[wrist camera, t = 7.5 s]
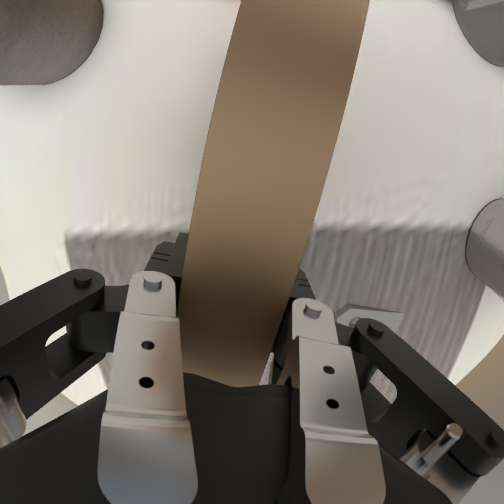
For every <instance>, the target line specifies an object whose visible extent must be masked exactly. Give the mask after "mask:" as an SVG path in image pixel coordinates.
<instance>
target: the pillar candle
mask: <svg viewBox="0 0 504 504" xmlns="http://www.w3.org/2000/svg"><path fill="white" fill-rule="evenodd" d="M102 20H103V10H102V5H101V1H100V0H0V85H45V84H50V83H53V82H56V81H58V80H60V79H62V78H64V77H66V76H67V75H69V74H70V73H72V72H73V71H74V70H76V69H77V68H78V67H79V66H80V65H81V64H82V63H83V62H84V61H85V60H86V58H87V57H88V56H89V55H90V53H91V52H92V49H93V48H94V46H95V44H96V43H97V41H98V38H99V35H100V32H101V28H102Z"/></svg>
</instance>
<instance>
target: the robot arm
mask: <svg viewBox="0 0 504 504" xmlns="http://www.w3.org/2000/svg"><path fill="white" fill-rule="evenodd" d="M188 237H189V234H187V233H182V232H180V233H179V236H178V238H177V240H176V243H170V242H163V243H161V244H159V245H157V246H156V248H155V250H154V252H153V254H152V256H151V258H150V260H149V262H148V264H147V266H146V268H145V270H144V271H143V272H139V273H136V274H134V275H133V276H132V277H131V280H130V284H129V285H125V286H105V279H104V277H103V276H102V275H101V274H100V273H98V272H96V271H94V270H90V269H76V270H72V271H69V272H67V273H65V274H63V275H60V276H58V277H56V278H54V279H52V280H50V281H48V282H46V283H44V284H42V285H40V286H38V287H36V288H34V289H32V290H30V291H28V292H26V293H24V294H22V295H20V296H18V297H16V298H14V299H12V300H10V301H8V302H7V303H5V304H3V305H1V306H0V504H458V503H459V502H460V501H461V500H462V499H463V497H464V496H465V495H466V494H467V492H468V491H469V490H470V489H471V488H472V486H473V485H475V484H476V483H477V482H478V481H479V480H481V479H482V478H483V477H484V476H485V475H486V474H488V473H489V472H490V471H491V470H492V469H493V468H494V467H495V466H497V465H498V464H499V463H500V462H501V461H502V460H503V459H504V430H503V429H502V428H501V427H499V425H497V424H496V423H495V422H494V421H493V420H492V419H491V418H490V417H489V416H488V415H487V414H485V412H483V411H482V410H481V409H480V408H479V407H478V406H477V405H476V404H475V403H473V401H471V400H470V399H469V398H468V397H467V396H466V395H465V394H464V393H462V392H461V391H460V390H459V389H458V388H457V387H456V386H455V385H454V384H453V383H451V382H450V381H449V380H448V379H447V378H446V377H445V376H444V375H442V374H441V373H440V372H439V371H438V370H437V369H436V368H435V367H433V366H432V365H431V364H430V363H429V362H428V361H427V360H425V359H424V358H423V357H422V356H421V355H420V354H419V353H418V352H416V351H415V350H414V349H413V348H412V347H411V346H409V345H408V344H407V343H406V342H405V341H404V340H403V339H401V338H400V337H399V336H398V335H397V334H396V333H394V332H393V331H392V330H391V329H390V328H389V327H387V326H386V325H385V324H383V323H381V322H380V321H377V320H374V319H371V318H361V319H359V320H358V321H357V323H356V325H355V327H354V328H352V327H349V326H346V325H343V324H340V323H337V322H335V321H334V316H333V313H332V311H331V310H330V308H329V307H328V306H326V305H325V304H323V303H321V302H319V301H317V300H316V299H315V296H314V294H313V291H312V289H311V287H310V284H309V282H308V279H307V277H306V274H305V273H304V272H303V271H302V270H301V269H300V268H299V269H298V272H297V275H296V279H295V282H294V285H293V288H292V291H291V294H290V297H289V300H288V303H287V306H286V309H285V312H284V315H283V318H282V321H281V324H280V326H279V329H278V332H277V335H276V338H275V341H274V344H273V347H272V349H271V352H273V353H274V357H273V359H272V362H271V365H270V373H269V383H268V385H258V386H247V387H232V386H229V385H226V384H222V383H219V382H216V381H214V380H211V379H208V378H205V377H202V376H199V375H196V374H192V373H186V372H183V369H182V355H181V340H180V323H179V317H177V312H178V304H179V297H180V289H181V282H182V275H183V269H184V262H185V256H186V249H187V243H188ZM466 258H467V263H468V266H469V268H470V270H471V271H472V272H473V274H474V275H476V276H477V277H478V278H479V279H480V280H481V281H482V282H484V283H485V284H486V285H487V286H488V287H489V288H490V289H491V290H492V291H493V292H494V293H496V294H497V295H498V296H499V297H500V298H501V299H502V300H503V301H504V199H499V200H495V201H493V202H491V203H490V204H489V205H487V206H486V207H485V208H484V209H483V210H482V211H481V212H480V214H479V215H478V217H477V218H476V220H475V221H474V224H473V226H472V228H471V230H470V234H469V237H468V241H467V247H466ZM64 326H66V331H67V333H66V334H64V335H63V336H61V337H60V338H58V339H57V340H55V341H54V342H52V343H51V344H49V345H48V346H46V347H45V345H46V342H47V340H48V338H49V337H50V336H51V335H52V334H53V333H54V332H56V331H58V330H59V329H61V328H62V327H64ZM107 352H113V358H112V365H111V371H110V378H109V386H108V389H107V390H106V391H104V392H102V393H100V394H99V395H97V396H95V397H93V398H92V399H90V400H88V401H86V402H85V403H83V404H81V405H79V406H77V407H76V408H74V409H72V410H70V411H69V412H67V413H65V414H63V415H61V416H59V417H58V418H56V419H54V420H52V421H50V422H48V423H47V424H45V425H43V426H41V427H39V428H37V429H35V430H34V431H32V432H30V433H28V434H26V435H24V436H22V435H23V433H24V432H25V429H26V419H28V418H29V417H30V416H31V415H33V414H34V413H35V412H37V411H38V410H39V409H40V408H42V407H43V406H44V405H45V404H47V403H48V402H49V401H50V400H52V399H53V398H54V397H55V396H57V395H58V394H59V393H60V392H62V391H63V390H64V389H66V388H67V387H68V386H69V385H71V384H72V383H73V382H74V381H76V380H77V379H78V378H79V377H81V376H82V375H83V374H84V373H86V372H87V371H88V370H90V369H91V368H92V367H93V366H95V365H96V364H97V363H98V362H100V361H101V360H102V359H103V358H104V357H105V356H106V353H107ZM377 368H378V369H379V370H380V371H381V372H382V373H383V374H384V375H385V376H386V377H387V378H388V379H389V380H390V381H391V382H392V383H393V384H394V385H395V386H396V389H397V397H396V399H395V401H394V402H393V403H392V404H391V403H390V402H389V401H388V400H387V399H386V398H385V397H384V396H383V395H382V394H381V393H380V392H379V391H378V390H377V389H376V388H375V387H374V386H373V385H372V384H371V383H370V382H369V381H370V380H371V378H372V376H373V375H374V373H375V371H376V370H377Z"/></svg>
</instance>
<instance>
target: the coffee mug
mask: <svg viewBox="0 0 504 504" xmlns="http://www.w3.org/2000/svg"><path fill="white" fill-rule="evenodd" d="M453 7H454V11H455V16H456V19H457V21H458V24H459V26H460V28H461V30H462V32H463V34H464V36H465V37H466V39H467V41H468V42H469V43H470V45H471V46H472V47H473V48H474V50H475V51H476V52H477V53H478V54H479V55H480V56H481V57H482V58H484V59H485V60H486V61H488V62H489V63H491V64H493V65H496V66H501V67H504V0H453Z"/></svg>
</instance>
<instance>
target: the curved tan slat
mask: <svg viewBox="0 0 504 504" xmlns="http://www.w3.org/2000/svg"><path fill="white" fill-rule="evenodd" d="M369 1H370V0H242V1H241V4H240V8H239V11H238V14H237V18H236V22H235V25H234V29H233V32H232V36H231V40H230V44H229V47H228V51H227V55H226V59H225V63H224V67H223V71H222V75H221V79H220V83H219V87H218V91H217V96H216V100H215V104H214V109H213V113H212V118H211V122H210V127H209V131H208V136H207V141H206V145H205V150H204V155H203V160H202V165H201V170H200V175H199V181H198V186H197V191H196V197H195V202H194V208H193V213H192V219H191V225H190V231H189V237H188V243H187V249H186V256H185V262H184V269H183V275H182V282H181V289H180V297H179V304H178V312H177V317H179V323H180V340H181V355H182V369H183V372H186V373H192V374H196V375H199V376H202V377H205V378H208V379H211V380H214V381H216V382H219V383H222V384H226V385H229V386H232V387H247V386H258V385H259V383H260V380H261V377H262V374H263V372H264V369H265V366H266V363H267V361H268V358H269V355H270V352H271V349H272V347H273V344H274V341H275V338H276V335H277V332H278V329H279V326H280V324H281V321H282V318H283V315H284V312H285V309H286V306H287V303H288V300H289V297H290V294H291V291H292V288H293V285H294V282H295V279H296V275H297V272H298V269H299V266H300V263H301V260H302V257H303V254H304V250H305V247H306V244H307V241H308V237H309V234H310V231H311V228H312V224H313V221H314V218H315V214H316V211H317V208H318V204H319V201H320V197H321V194H322V191H323V187H324V184H325V180H326V177H327V173H328V170H329V166H330V162H331V159H332V155H333V152H334V148H335V144H336V140H337V137H338V133H339V129H340V125H341V122H342V118H343V114H344V110H345V106H346V102H347V98H348V94H349V90H350V86H351V82H352V78H353V74H354V70H355V65H356V61H357V57H358V52H359V48H360V44H361V39H362V35H363V30H364V25H365V21H366V16H367V11H368V6H369Z"/></svg>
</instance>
